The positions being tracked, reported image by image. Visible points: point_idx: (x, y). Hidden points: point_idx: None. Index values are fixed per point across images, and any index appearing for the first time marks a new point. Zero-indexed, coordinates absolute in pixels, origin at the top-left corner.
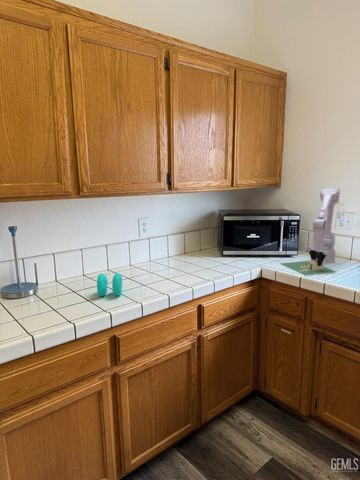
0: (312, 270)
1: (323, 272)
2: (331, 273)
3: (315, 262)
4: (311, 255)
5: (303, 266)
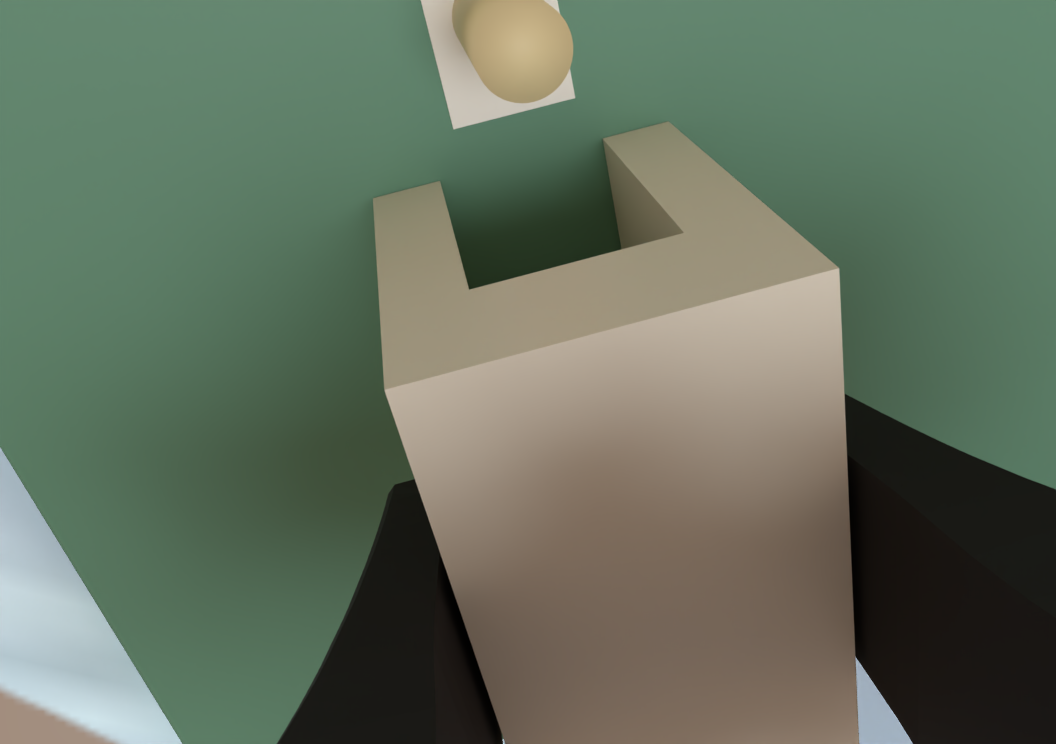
0: (400, 184)
1: (136, 475)
2: (149, 663)
3: (420, 464)
4: (1035, 587)
5: (987, 53)
